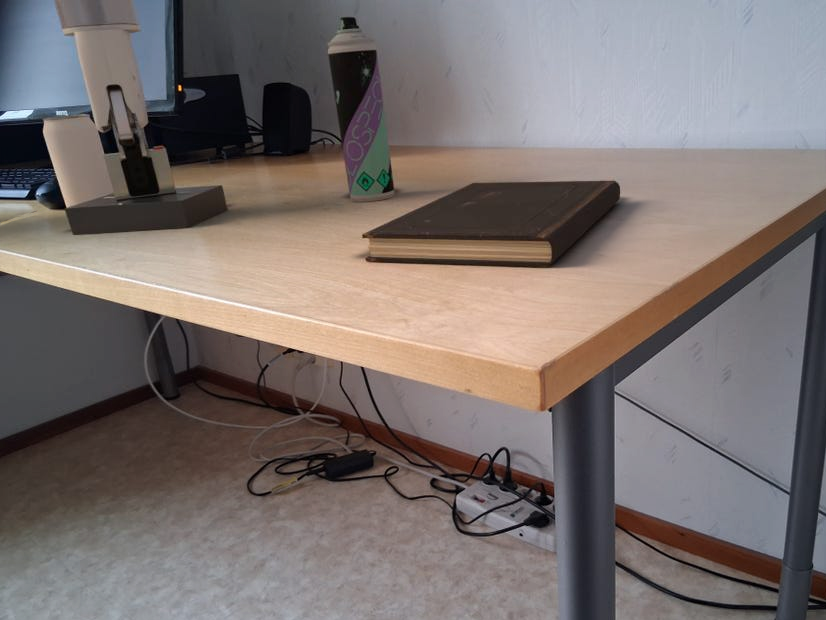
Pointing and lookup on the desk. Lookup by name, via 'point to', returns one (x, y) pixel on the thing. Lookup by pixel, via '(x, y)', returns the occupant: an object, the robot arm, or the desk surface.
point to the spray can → (360, 113)
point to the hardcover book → (495, 224)
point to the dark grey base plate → (147, 211)
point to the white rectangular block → (160, 168)
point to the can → (77, 158)
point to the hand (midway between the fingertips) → (145, 192)
